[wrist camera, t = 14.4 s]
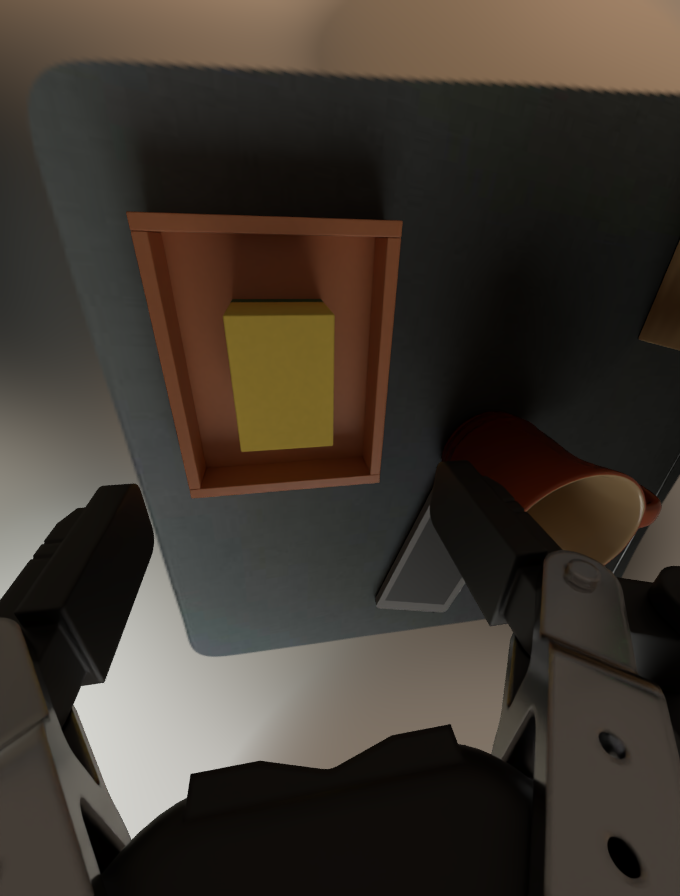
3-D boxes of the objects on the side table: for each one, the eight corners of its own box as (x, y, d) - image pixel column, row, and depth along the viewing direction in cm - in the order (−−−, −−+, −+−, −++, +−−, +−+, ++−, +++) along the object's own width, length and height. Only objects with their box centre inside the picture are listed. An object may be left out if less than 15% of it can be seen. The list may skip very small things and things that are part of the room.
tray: (146, 215, 18) (125, 211, 16) (385, 223, 20) (403, 220, 17) (199, 472, 26) (191, 498, 23) (368, 459, 28) (379, 482, 25)
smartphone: (443, 607, 39) (445, 613, 38) (372, 602, 36) (374, 609, 36) (515, 496, 32) (520, 501, 32) (436, 481, 30) (439, 486, 29)
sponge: (231, 298, 20) (222, 314, 16) (321, 298, 21) (335, 313, 17) (245, 414, 24) (240, 452, 19) (322, 410, 24) (333, 446, 20)
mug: (419, 495, 30) (481, 599, 22) (437, 398, 26) (522, 478, 17) (547, 485, 32) (650, 576, 24) (582, 393, 28) (725, 462, 19)
